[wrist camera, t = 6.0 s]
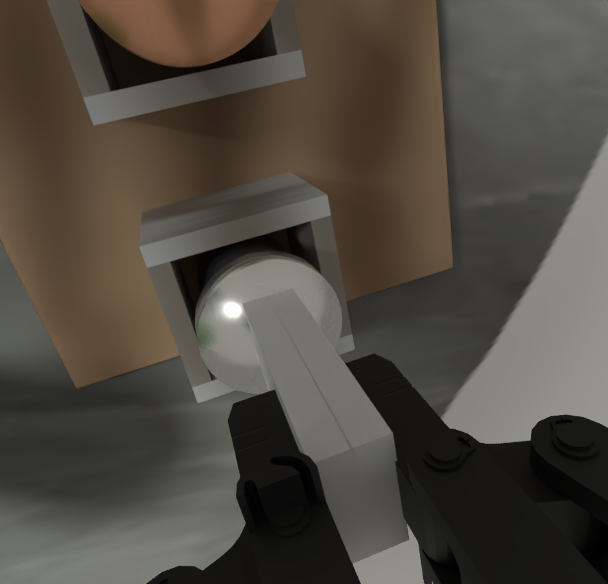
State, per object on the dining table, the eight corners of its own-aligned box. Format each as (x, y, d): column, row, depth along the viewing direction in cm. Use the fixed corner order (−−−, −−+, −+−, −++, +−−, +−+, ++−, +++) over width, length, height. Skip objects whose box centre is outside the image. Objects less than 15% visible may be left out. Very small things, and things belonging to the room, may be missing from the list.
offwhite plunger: (205, 338, 19) (221, 412, 15) (170, 236, 17) (176, 287, 13) (308, 305, 20) (351, 367, 16) (285, 204, 18) (328, 242, 14)
